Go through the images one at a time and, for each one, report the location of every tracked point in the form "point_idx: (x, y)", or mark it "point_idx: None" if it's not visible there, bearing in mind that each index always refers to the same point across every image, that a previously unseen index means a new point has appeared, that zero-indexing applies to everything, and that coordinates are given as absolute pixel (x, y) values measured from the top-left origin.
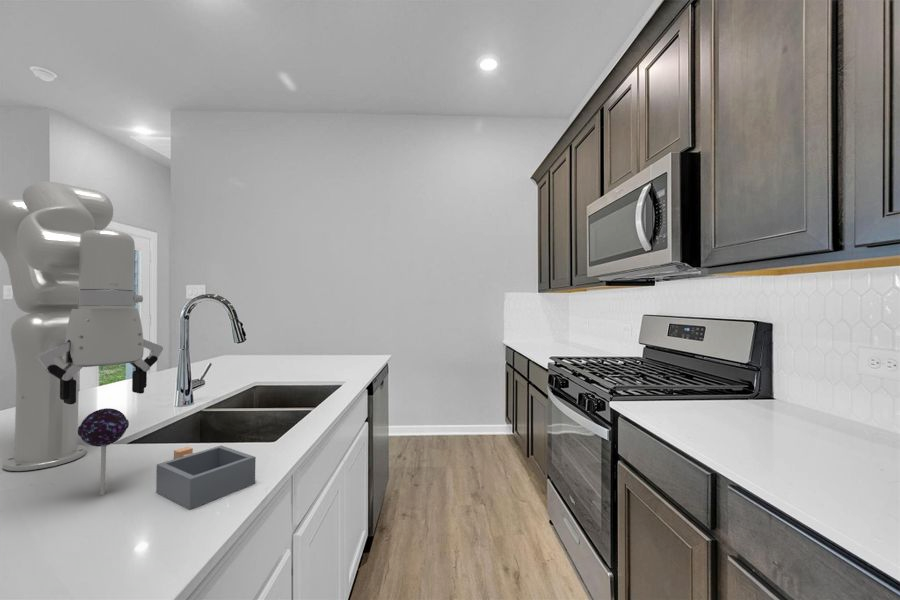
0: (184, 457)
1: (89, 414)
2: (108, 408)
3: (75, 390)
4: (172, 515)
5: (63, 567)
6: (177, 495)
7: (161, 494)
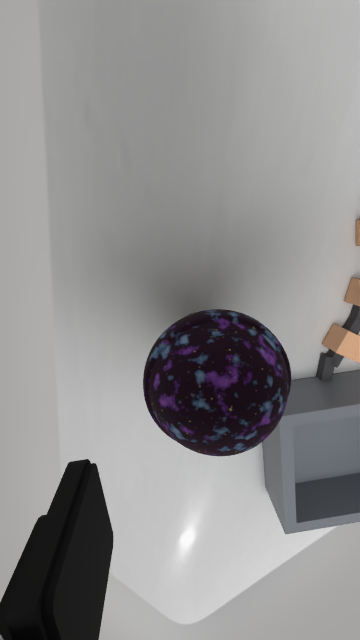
0: (334, 416)
1: (179, 397)
2: (247, 413)
3: (98, 615)
4: (242, 486)
5: (112, 526)
6: (268, 464)
7: None
